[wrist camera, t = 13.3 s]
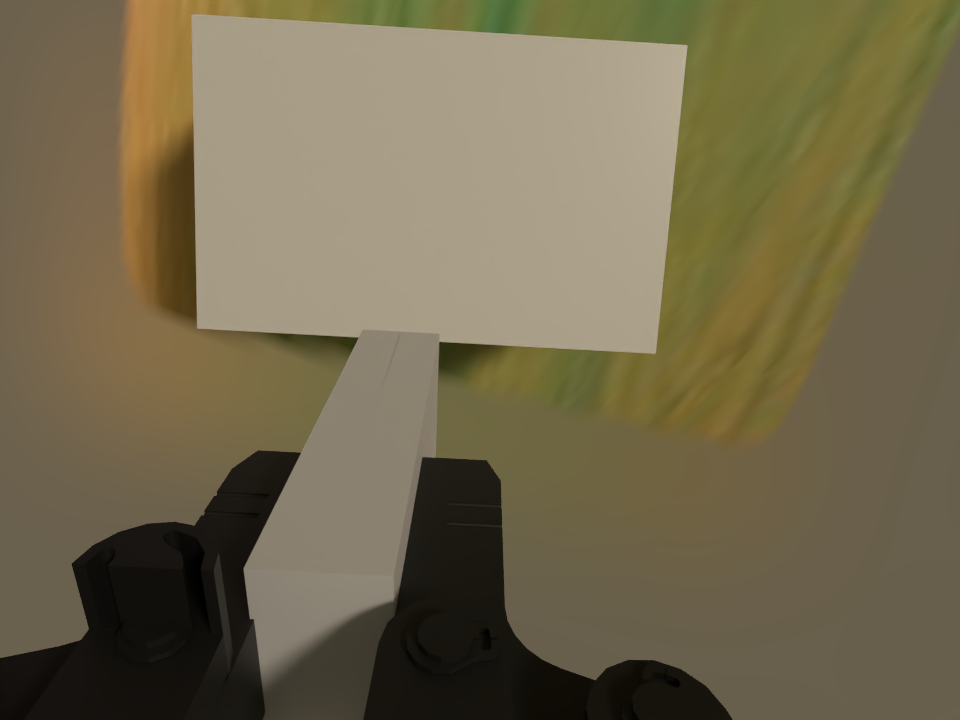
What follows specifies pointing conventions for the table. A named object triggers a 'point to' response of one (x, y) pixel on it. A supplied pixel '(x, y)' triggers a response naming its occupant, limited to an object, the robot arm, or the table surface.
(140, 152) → the table surface
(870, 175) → the table surface
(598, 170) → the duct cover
